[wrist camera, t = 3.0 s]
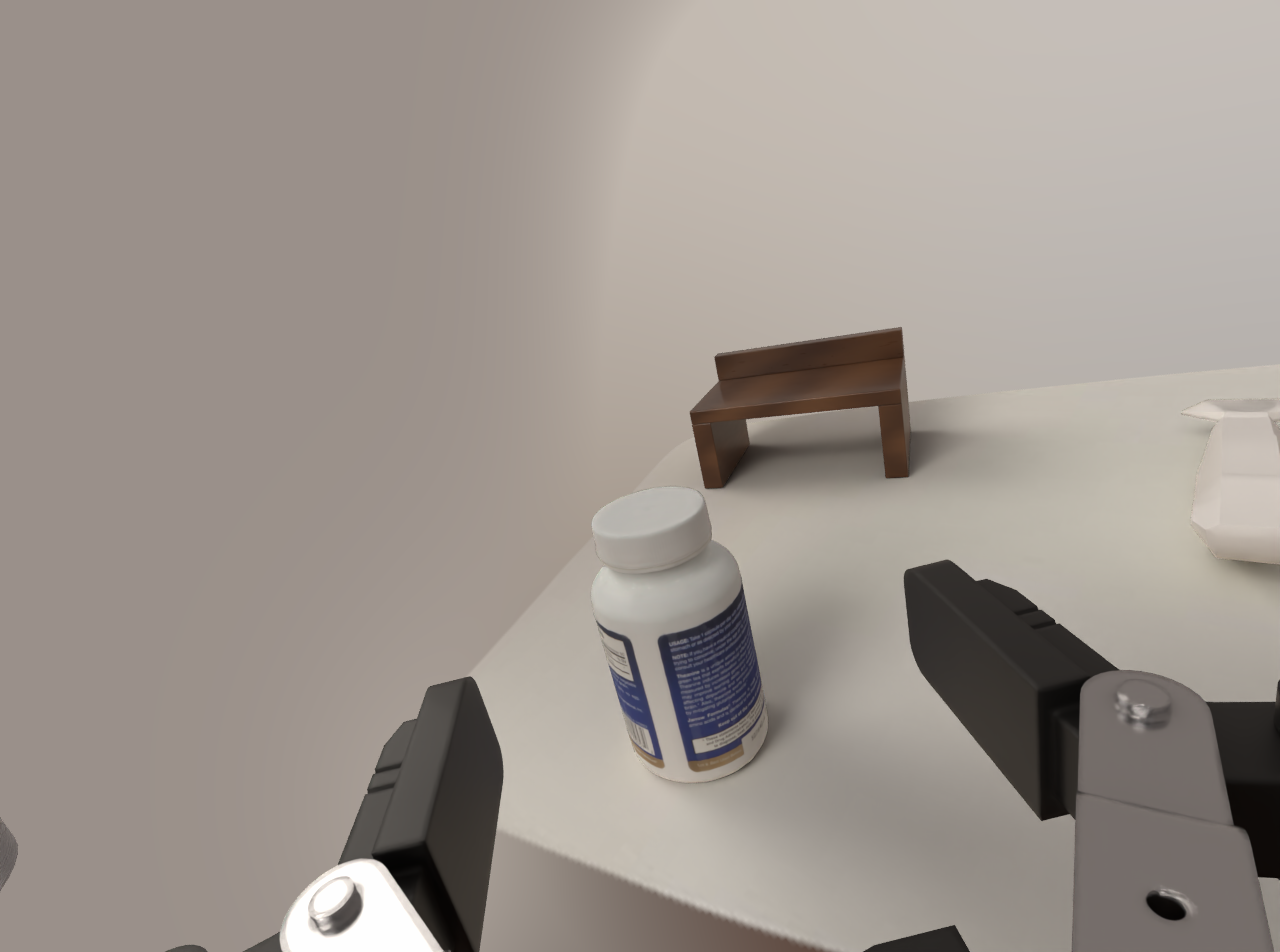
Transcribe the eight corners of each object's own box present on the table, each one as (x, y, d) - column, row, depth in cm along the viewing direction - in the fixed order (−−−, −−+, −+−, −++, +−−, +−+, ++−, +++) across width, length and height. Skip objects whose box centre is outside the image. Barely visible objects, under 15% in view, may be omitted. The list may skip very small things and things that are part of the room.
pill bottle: (777, 689, 27) (737, 470, 24) (760, 794, 23) (708, 540, 19) (654, 687, 29) (601, 484, 26) (614, 784, 25) (544, 551, 21)
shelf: (704, 488, 49) (683, 384, 47) (734, 445, 57) (717, 353, 54) (908, 477, 43) (897, 357, 41) (910, 430, 51) (902, 326, 48)
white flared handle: (1155, 599, 27) (1159, 512, 26) (1179, 441, 40) (1183, 377, 38) (1348, 626, 24) (1364, 527, 23) (1309, 443, 36) (1318, 372, 35)
